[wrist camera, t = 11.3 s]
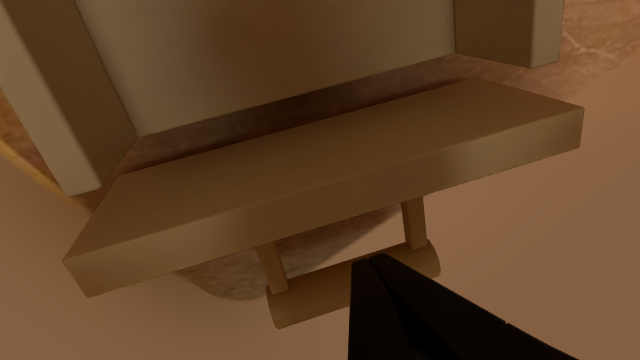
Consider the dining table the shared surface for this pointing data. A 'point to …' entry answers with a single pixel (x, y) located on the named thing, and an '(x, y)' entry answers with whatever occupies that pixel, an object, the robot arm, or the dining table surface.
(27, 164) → the dining table surface
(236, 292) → the dining table surface
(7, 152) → the dining table surface
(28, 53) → the drawer
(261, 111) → the dining table surface
